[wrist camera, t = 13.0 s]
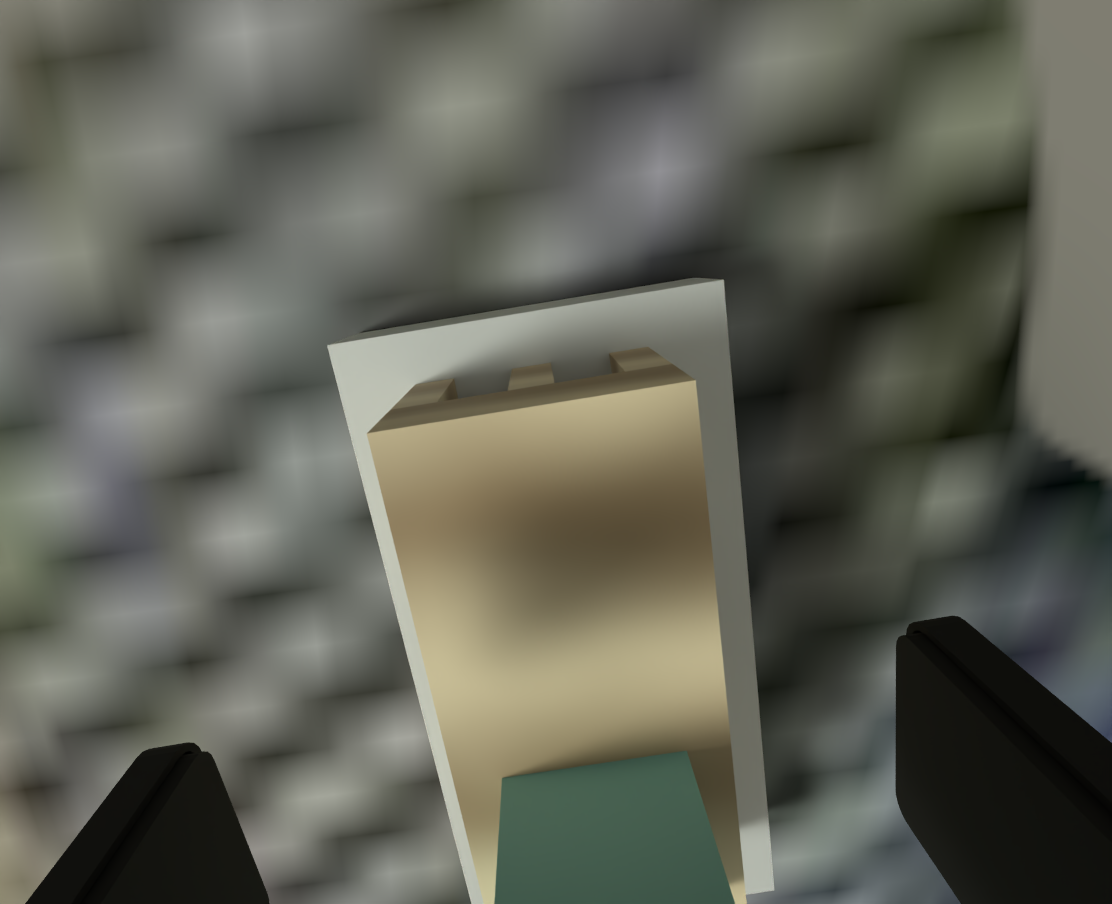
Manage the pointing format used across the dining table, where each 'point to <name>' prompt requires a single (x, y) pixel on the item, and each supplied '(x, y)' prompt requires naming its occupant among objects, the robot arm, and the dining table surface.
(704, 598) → the tan long block
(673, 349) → the dock
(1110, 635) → the dining table surface
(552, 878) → the teal cube
